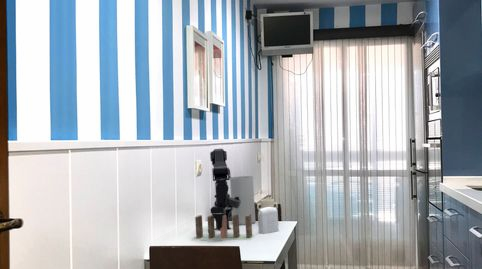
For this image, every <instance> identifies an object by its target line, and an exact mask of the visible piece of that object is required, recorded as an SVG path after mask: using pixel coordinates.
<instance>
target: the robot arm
mask: <svg viewBox="0 0 482 269" xmlns="http://www.w3.org/2000/svg"><path fill="white" fill-rule="evenodd" d="M227 153H228V152H227V151H226V150H224V148H215V149H213V150H212V151H211V152H209V155H210V156H209V158H210V162H211V165H212V169H211V170H212V181H213V182H215V183H214V187H215V188H214V189H215V195H214V199H215V200H214V203H213V204H214V205H213V206H212V207H211V208H210V214H211V215H213V217H214V221H215V231H216V230H219V231H221V228H222V223H223V216H224V215H226V220H227V230H231V229H232V227H230V220H229V218H232V210H233V208H238V207H239V206H240V203H241V200H240V198H239V197H237V196H236V197H235V198H231V194H230V193H229V192H228V191H229V185H228V181H230V178H231V177H232V176H231V170H230V168H229V167H228V164H227V162H226V161H227V159H228V156H227V155H228V154H227Z"/></svg>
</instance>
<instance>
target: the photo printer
mask: <svg viewBox="0 0 482 269" xmlns="http://www.w3.org/2000/svg"><path fill="white" fill-rule="evenodd" d="M274 207H275V206H274ZM274 207H265V208H262V209H260V210H258V211H257V225H258V234H260V235H261V234H262V235H265V234H271V233H275V232H279V214H278V212H279V211H278V208H277V209H276V208H274Z"/></svg>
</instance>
